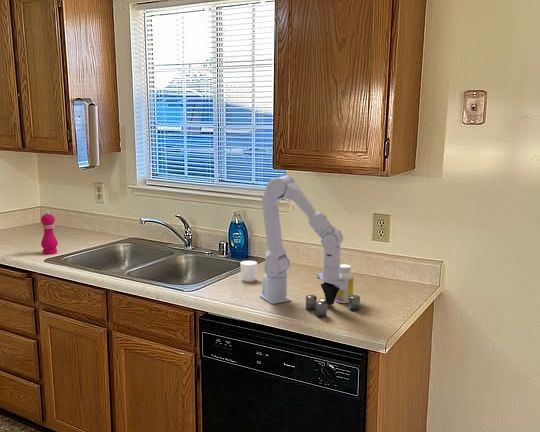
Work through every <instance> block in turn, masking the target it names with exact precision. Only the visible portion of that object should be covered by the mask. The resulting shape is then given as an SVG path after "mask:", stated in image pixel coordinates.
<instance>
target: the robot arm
mask: <svg viewBox="0 0 540 432" xmlns="http://www.w3.org/2000/svg"><path fill="white" fill-rule="evenodd" d="M282 199H285V200H289V201H290V200H291V201H293V202H294V203H295V204H296V206H298V208H299V209H300V210H301V211H302V212H303V213H304V214H305V215H306V217H307V218H308V222H307V223H308V225H309V226H310V227H311V228H312V229H313V231H314V232H315V233H316V234H317V235H318V237H319V238H320V239H321V240H320V243H321V245H322V247H323V257H322V258H323V259H322V272H317V273H316V279H317V280H321V281H322V282H323V283H320V287H321V289H322V291H323V294H324V298H326V302H327V304H328V305H331V306H332V305H334V304H335V302H336V301H335V298H336V295H337V293H338V291H339V289H340V290H344V289H346V283H344V282H343V281H342V280H341V279H342V277H340V264H341V244H342V243H343V241H344V236H343V233H342V232H341V230H339V229H338V228H336V227H335V226H334V225H333V224H331V222H330V221H329V220H328V219H327V218H328V216H327V214H323V212H321V211H317V210H316V209H315V208H314V206H313V205H312V203H311V202H310V200H309V199H308V198H307V197H306V195H305V193H304V192H303V191H302V189H301V187H300V185H299V184H298V183H297V181H295V180H294V178H293V177H292V176H290V175H287V174H286V175H282V176H280V177H273V178H272V179H270V180H269V181H268V183H266V184H265V191H264V193H263V196H262V198H261V205H262V212H263V213H262V214H263V220H264V222H263V223H264V228H265V229H264V230H265V237H266V246H267V251H266V253H265V256H264V261H265V262H264V264H263V271H264V273H265V274H264V275H263V277H262V279H261V294H259V297H261V298H262V299H264V300H265V301H267V302H268V303H270V304H271V305H274V304H280V303H286V302H291V301H292V298H290V297H289V296H287V295H288V291H287V288H288V284H287V283H288V273H287V270H288V269H289V268H290V265H291V264H290V259H289V257H288V255H287V251H286V249H285V248H284V246H283V239H282V229H281V222H280V221H281V220H280V212H279V203H280V201H282Z"/></svg>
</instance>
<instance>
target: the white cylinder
mask: <svg viewBox="0 0 540 432" xmlns="http://www.w3.org/2000/svg"><path fill="white" fill-rule="evenodd" d="M239 264H240V277H241V281H243V282H249V283H250V282H254V281H256V278H257V268H258V262H257V261H255V260H242V261H240V262H239Z"/></svg>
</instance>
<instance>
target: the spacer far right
mask: <svg viewBox="0 0 540 432" xmlns="http://www.w3.org/2000/svg"><path fill="white" fill-rule="evenodd" d="M327 316H328V307H327V302H324V301H319V300H318V301H316V310H315V317H316V318H318V319H319V318H320V319H326V318H327ZM325 317H326V318H325Z"/></svg>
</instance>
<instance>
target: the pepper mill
mask: <svg viewBox="0 0 540 432" xmlns="http://www.w3.org/2000/svg"><path fill="white" fill-rule="evenodd" d="M55 221H56V217H55V216H54V215H53V214H51V213H50V211H49V210H46V211H45V213H44V215H42V216H41V217H40V222H41V224H42V225H41V226H42V229H43V236H42V239H41V242H40V247H42V248H43V249H42V254H43V255H50V256H51V255H55V254H57V253H58V249H57V246H58V245H59V242H58V239H57V238H56V235H55V234H54V228H55Z"/></svg>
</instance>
